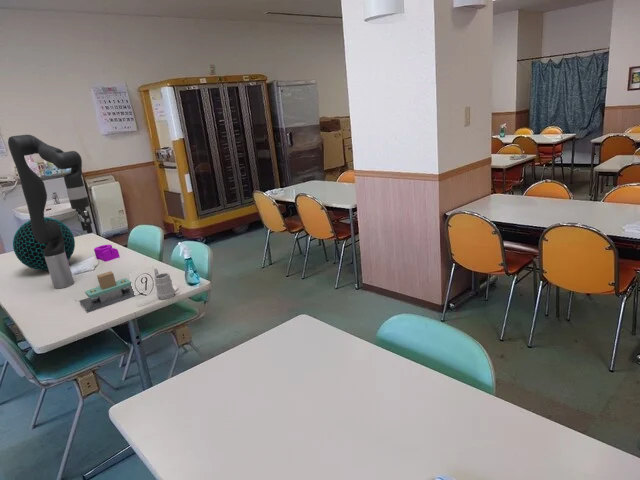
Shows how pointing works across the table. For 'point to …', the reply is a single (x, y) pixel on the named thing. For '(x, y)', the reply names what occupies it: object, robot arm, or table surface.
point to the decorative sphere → (38, 245)
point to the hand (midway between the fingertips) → (87, 231)
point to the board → (100, 292)
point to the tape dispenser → (106, 253)
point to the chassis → (107, 299)
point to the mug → (163, 285)
